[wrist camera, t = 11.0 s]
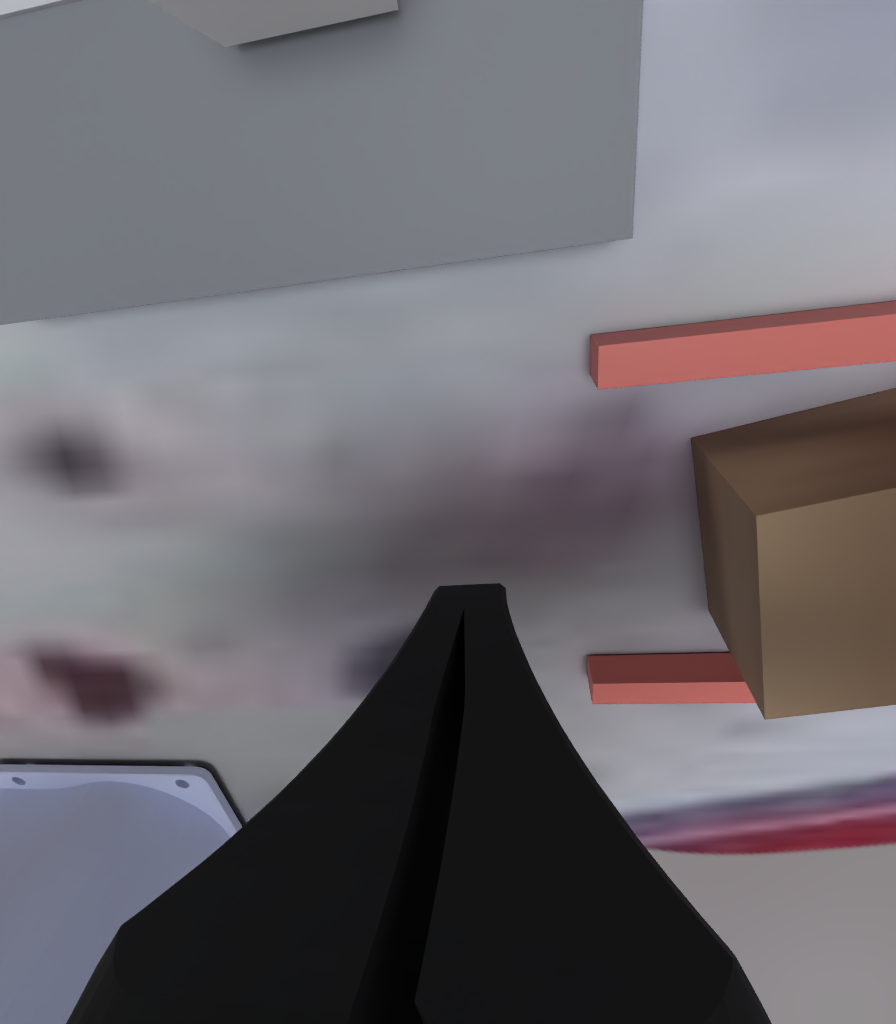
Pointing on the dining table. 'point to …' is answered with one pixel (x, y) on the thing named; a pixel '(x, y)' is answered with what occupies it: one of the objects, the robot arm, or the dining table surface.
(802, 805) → the dining table surface
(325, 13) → the switch
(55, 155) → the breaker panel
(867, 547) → the block
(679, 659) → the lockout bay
